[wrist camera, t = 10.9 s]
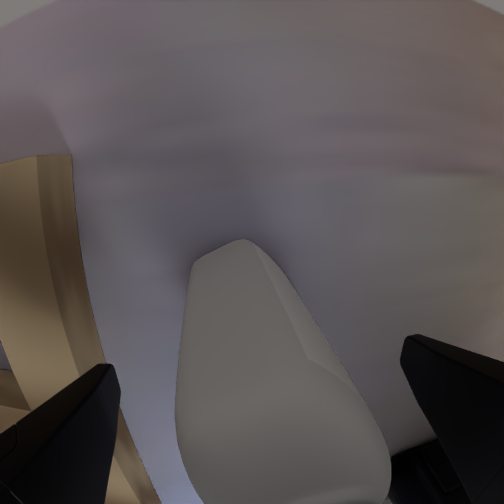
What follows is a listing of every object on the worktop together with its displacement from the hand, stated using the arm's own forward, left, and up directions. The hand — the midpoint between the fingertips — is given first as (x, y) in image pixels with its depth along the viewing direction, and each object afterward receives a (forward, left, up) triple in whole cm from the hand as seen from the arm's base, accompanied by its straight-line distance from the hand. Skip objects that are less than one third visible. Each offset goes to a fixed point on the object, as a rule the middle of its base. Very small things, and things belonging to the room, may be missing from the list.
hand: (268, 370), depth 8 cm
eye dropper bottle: (0, 0, -4) cm, 4 cm away
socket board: (-4, +12, -4) cm, 13 cm away
